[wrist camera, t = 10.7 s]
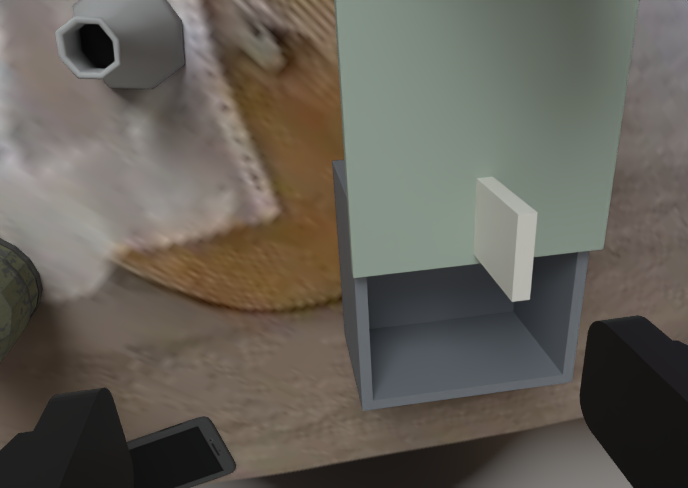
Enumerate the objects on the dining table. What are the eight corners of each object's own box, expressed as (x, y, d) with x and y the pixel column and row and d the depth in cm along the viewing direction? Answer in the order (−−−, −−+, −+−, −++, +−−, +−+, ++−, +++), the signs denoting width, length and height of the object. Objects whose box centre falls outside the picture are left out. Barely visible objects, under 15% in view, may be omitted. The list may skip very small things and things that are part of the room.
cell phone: (67, 460, 52) (64, 466, 51) (208, 411, 52) (207, 416, 51) (106, 511, 55) (104, 518, 54) (238, 465, 55) (238, 471, 54)
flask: (202, 73, 39) (183, 96, 30) (104, 103, 39) (55, 136, 30) (160, -38, 36) (125, -49, 27) (53, -5, 36) (-17, -5, 27)
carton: (531, 141, 44) (598, 179, 35) (517, 313, 51) (571, 381, 42) (332, 160, 43) (349, 205, 34) (344, 334, 50) (362, 410, 41)
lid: (634, -32, 30) (729, -39, 24) (596, 244, 37) (662, 294, 31) (333, -12, 29) (352, -13, 22) (351, 272, 35) (369, 330, 29)
